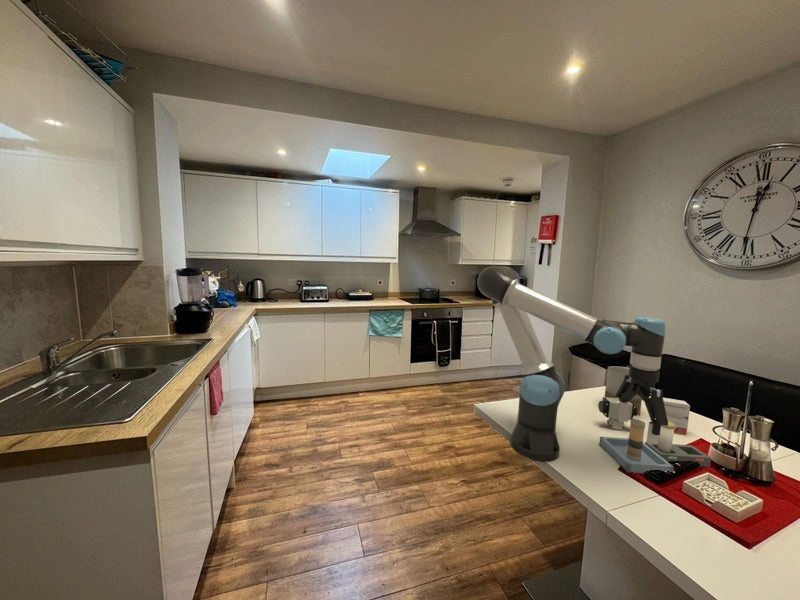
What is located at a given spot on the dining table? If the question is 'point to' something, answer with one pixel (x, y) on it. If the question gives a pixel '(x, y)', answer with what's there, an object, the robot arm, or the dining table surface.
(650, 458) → the parts tray
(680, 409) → the ink box
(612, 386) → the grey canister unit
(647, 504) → the dining table surface
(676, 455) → the fuse holder
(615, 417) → the pneumatic valve
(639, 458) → the fuse
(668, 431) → the cylinder
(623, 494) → the dining table surface
